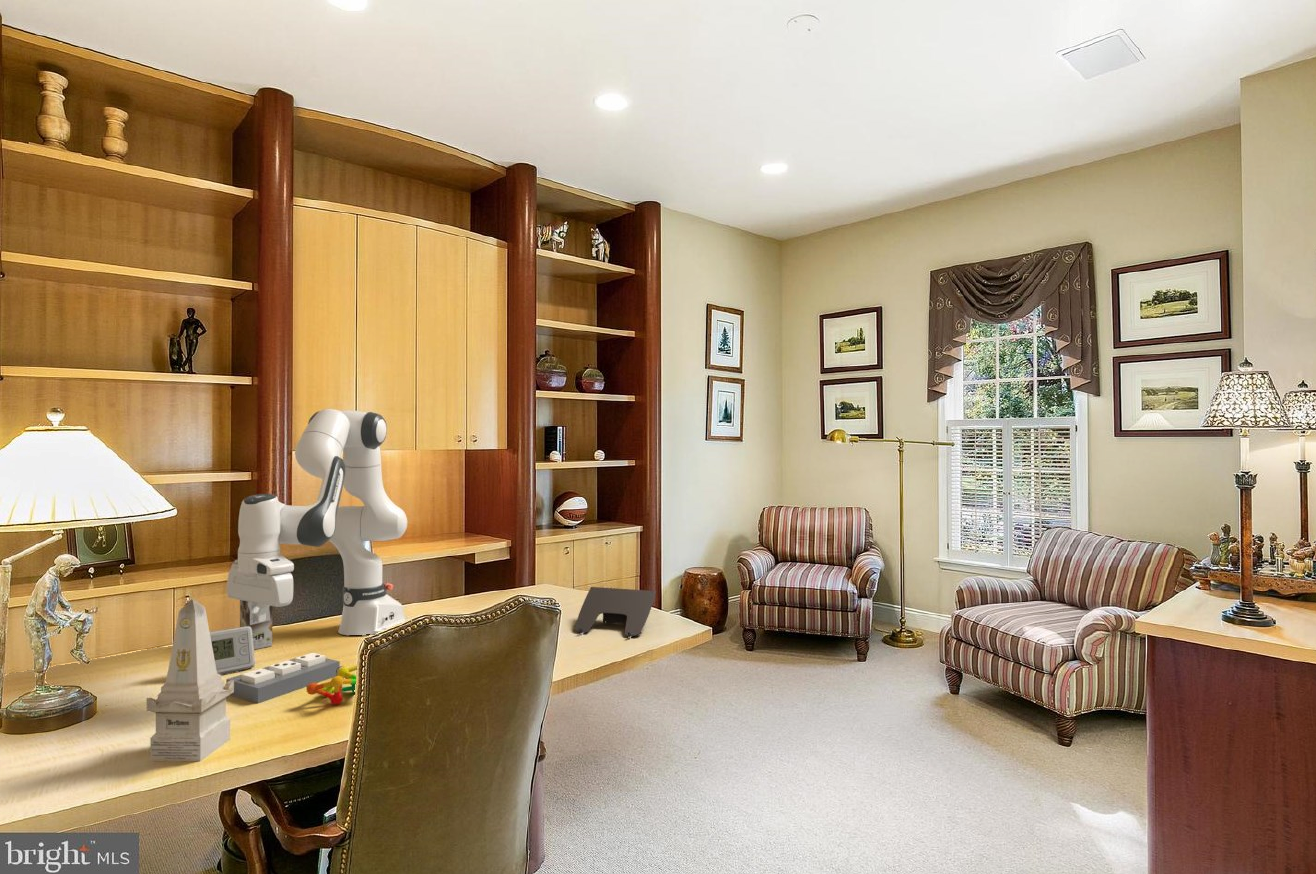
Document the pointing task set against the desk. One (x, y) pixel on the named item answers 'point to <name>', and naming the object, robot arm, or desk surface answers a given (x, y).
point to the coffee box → (257, 626)
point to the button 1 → (258, 676)
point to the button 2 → (285, 667)
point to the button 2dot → (310, 659)
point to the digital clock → (233, 649)
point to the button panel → (284, 681)
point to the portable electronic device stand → (616, 608)
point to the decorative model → (335, 685)
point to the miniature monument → (190, 695)
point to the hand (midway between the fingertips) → (258, 620)
